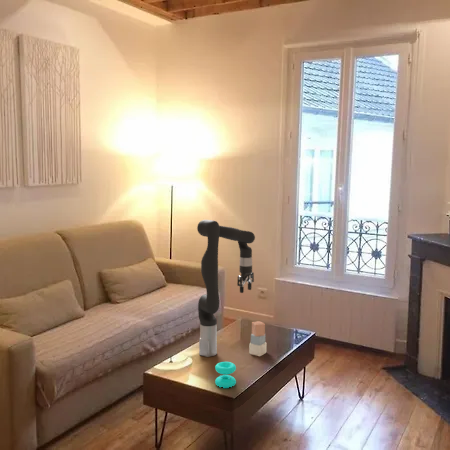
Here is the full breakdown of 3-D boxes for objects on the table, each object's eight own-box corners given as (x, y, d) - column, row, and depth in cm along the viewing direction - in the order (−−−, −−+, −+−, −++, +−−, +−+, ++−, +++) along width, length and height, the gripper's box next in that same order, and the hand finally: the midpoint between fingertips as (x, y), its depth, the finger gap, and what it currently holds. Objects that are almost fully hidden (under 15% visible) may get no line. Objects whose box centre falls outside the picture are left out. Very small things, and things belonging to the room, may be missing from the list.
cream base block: (259, 356, 271) (260, 346, 270) (249, 353, 275) (249, 343, 274) (266, 352, 276) (266, 342, 275) (255, 349, 280) (256, 339, 280)
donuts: (219, 359, 241) (238, 362, 238) (219, 378, 242) (238, 382, 239) (211, 367, 232) (231, 370, 228) (211, 387, 233) (231, 390, 230)
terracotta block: (255, 336, 271) (255, 325, 270) (251, 333, 276) (251, 322, 275) (264, 335, 272) (264, 324, 272) (260, 332, 278) (260, 321, 277)
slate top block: (259, 345, 270) (259, 336, 270) (250, 343, 274) (250, 334, 273) (265, 342, 275) (265, 333, 275) (256, 340, 279) (256, 331, 278)
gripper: (244, 267, 282) (244, 294, 284) (257, 263, 293) (257, 289, 295) (233, 265, 286) (233, 292, 288) (247, 261, 298) (246, 287, 300)
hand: (245, 291), depth 292 cm, fingers open, 8 cm apart
